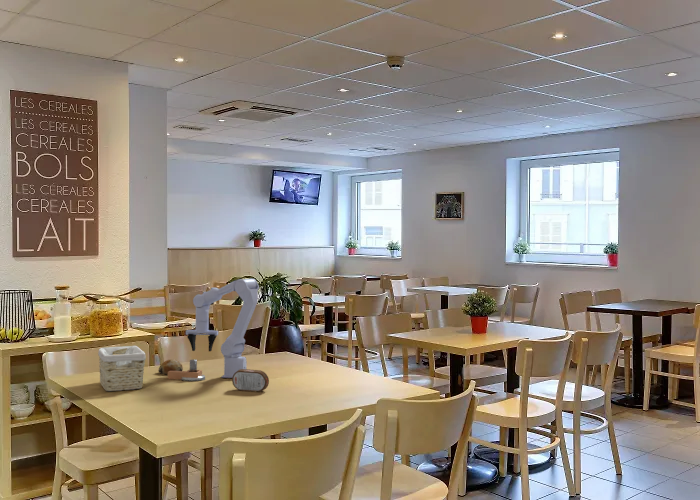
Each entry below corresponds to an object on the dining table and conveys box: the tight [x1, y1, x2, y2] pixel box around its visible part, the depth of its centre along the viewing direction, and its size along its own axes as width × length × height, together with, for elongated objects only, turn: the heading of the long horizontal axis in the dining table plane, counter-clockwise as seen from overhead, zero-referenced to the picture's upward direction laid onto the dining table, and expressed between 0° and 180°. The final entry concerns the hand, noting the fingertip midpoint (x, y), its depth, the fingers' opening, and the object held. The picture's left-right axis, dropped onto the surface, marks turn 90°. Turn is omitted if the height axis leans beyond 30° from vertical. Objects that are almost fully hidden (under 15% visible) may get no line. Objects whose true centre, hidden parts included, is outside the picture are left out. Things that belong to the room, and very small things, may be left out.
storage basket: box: [97, 345, 147, 392], centre depth 270 cm, size 24×16×15 cm
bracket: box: [167, 369, 203, 380], centre depth 285 cm, size 14×6×3 cm, turn 84°
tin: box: [231, 368, 270, 393], centre depth 263 cm, size 15×3×8 cm, turn 74°
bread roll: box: [157, 358, 184, 376], centre depth 298 cm, size 10×10×8 cm
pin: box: [189, 359, 198, 372], centre depth 285 cm, size 3×3×7 cm
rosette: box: [180, 374, 206, 382], centre depth 285 cm, size 10×10×1 cm
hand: (201, 350), depth 299 cm, fingers open, 7 cm apart
